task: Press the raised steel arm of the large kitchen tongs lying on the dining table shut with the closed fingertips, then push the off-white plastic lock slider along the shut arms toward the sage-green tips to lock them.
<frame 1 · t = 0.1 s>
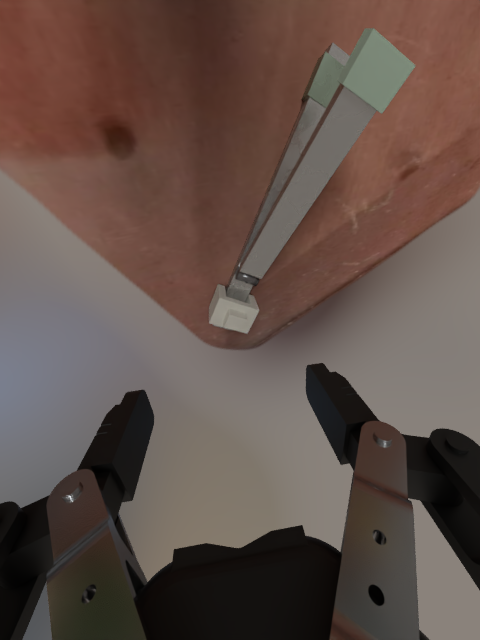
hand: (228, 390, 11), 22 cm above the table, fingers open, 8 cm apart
lock slider: (233, 311, 31), point 3 cm above the table, slide at 0.0 cm
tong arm: (297, 197, 22), point 6 cm above the table, hinge at 20.0°
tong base: (244, 270, 32), on the table
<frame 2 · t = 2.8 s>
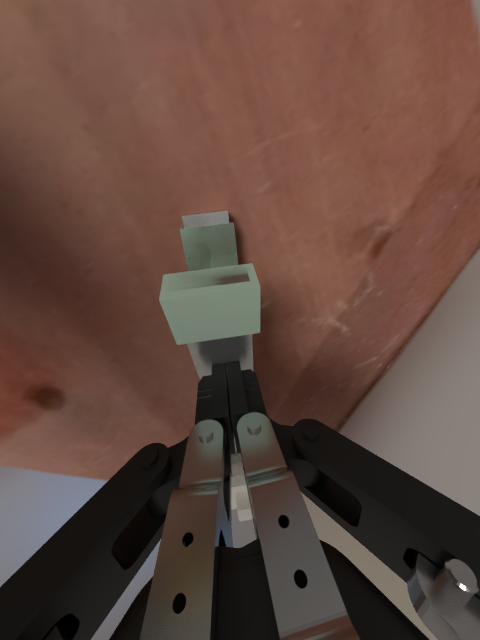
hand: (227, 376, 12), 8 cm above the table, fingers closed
lock slider: (246, 482, 25), point 3 cm above the table, slide at 0.0 cm
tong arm: (232, 400, 16), point 6 cm above the table, hinge at 19.4°, touching gripper
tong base: (238, 427, 26), on the table
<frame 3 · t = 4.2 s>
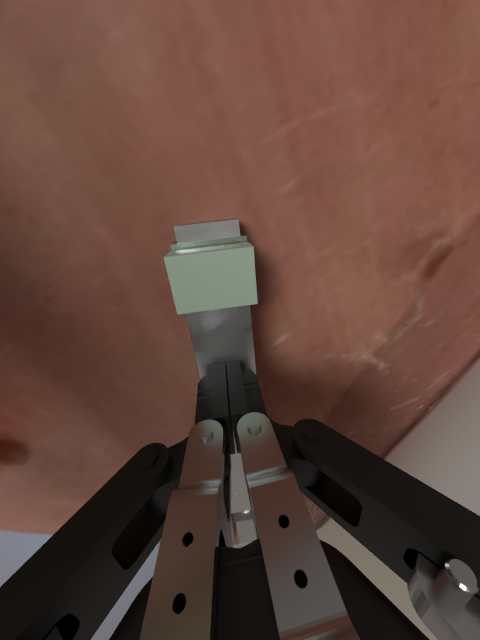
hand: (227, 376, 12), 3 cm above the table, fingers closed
lock slider: (255, 547, 21), point 3 cm above the table, slide at 0.0 cm
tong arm: (234, 415, 14), point 3 cm above the table, hinge at 0.3°, touching gripper
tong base: (245, 478, 21), on the table
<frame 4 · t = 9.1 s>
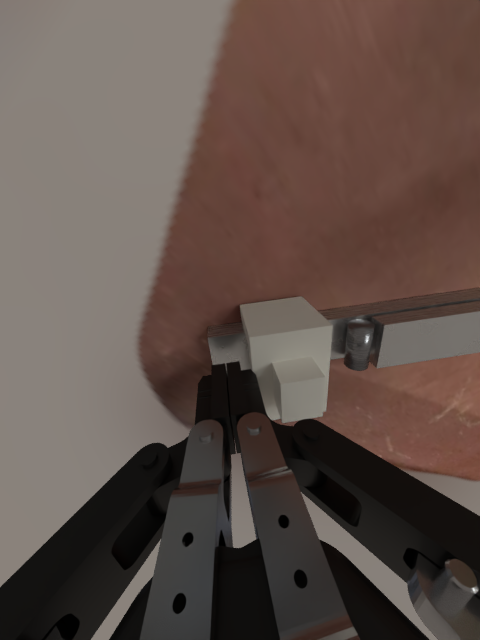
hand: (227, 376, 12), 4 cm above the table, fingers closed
lock slider: (284, 363, 13), point 3 cm above the table, slide at 0.2 cm, touching gripper
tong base: (338, 327, 16), on the table
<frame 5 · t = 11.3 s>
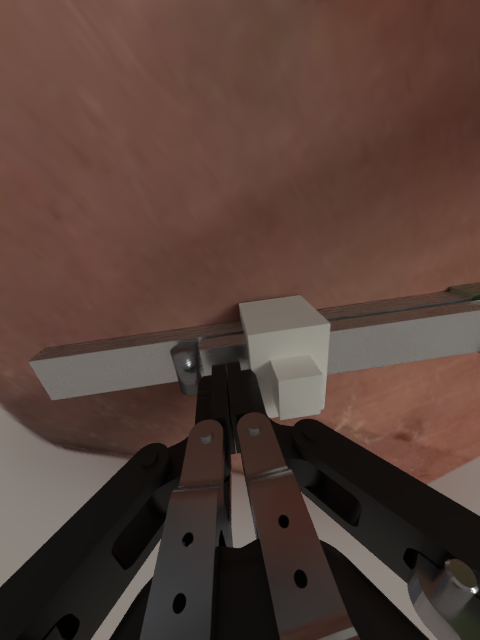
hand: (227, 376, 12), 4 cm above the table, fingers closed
lock slider: (283, 361, 13), point 3 cm above the table, slide at 10.6 cm, touching gripper
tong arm: (369, 344, 14), point 3 cm above the table, hinge at 0.3°
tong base: (191, 347, 16), on the table
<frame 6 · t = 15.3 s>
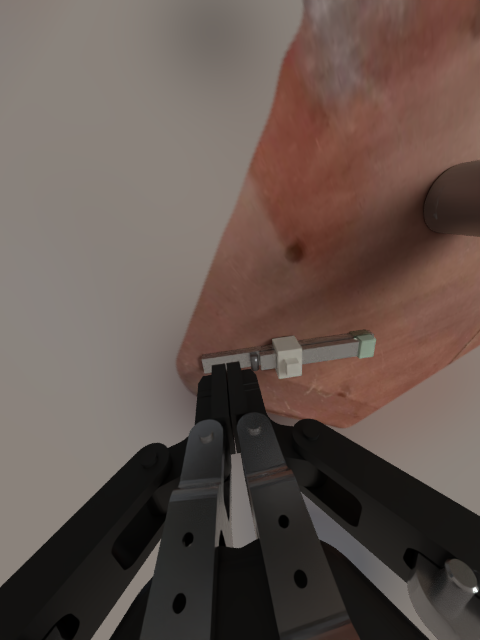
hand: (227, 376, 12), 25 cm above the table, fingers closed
lock slider: (287, 359, 40), point 3 cm above the table, slide at 10.7 cm
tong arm: (316, 353, 40), point 3 cm above the table, hinge at 0.3°
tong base: (252, 354, 42), on the table
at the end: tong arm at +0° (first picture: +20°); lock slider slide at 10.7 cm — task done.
